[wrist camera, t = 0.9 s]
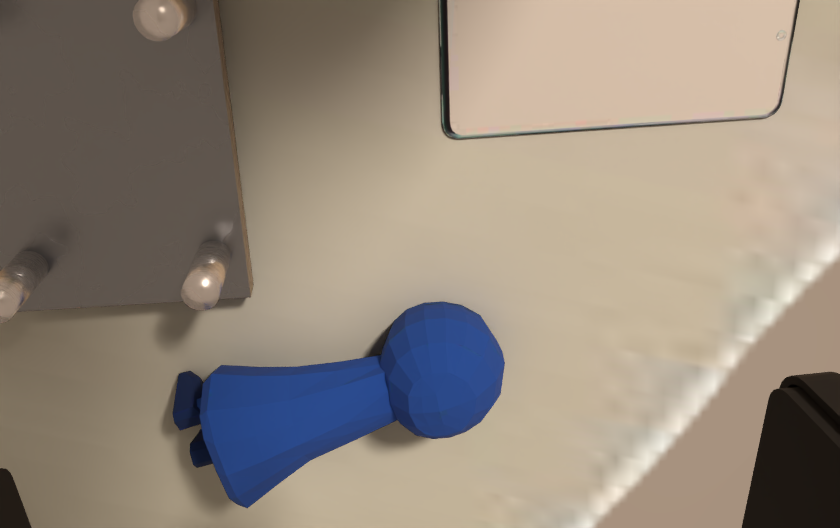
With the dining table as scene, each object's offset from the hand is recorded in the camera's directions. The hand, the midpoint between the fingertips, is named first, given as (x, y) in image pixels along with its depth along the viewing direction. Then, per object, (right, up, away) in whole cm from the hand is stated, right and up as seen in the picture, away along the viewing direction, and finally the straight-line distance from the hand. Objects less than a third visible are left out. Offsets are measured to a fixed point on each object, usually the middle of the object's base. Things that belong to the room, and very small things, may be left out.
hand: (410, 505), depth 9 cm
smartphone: (+8, +12, +21) cm, 26 cm away
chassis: (-12, +8, +20) cm, 25 cm away
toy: (-4, -2, +26) cm, 27 cm away
